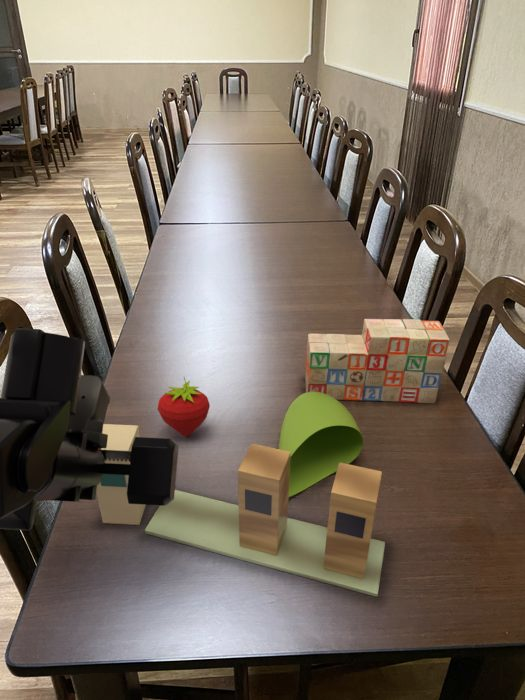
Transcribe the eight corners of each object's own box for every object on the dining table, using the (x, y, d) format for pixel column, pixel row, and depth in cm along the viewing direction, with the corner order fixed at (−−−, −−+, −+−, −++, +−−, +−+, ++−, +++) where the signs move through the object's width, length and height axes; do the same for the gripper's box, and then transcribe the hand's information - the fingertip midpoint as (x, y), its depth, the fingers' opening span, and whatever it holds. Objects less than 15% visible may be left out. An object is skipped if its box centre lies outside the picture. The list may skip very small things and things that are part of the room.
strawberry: (163, 422, 83) (157, 368, 78) (212, 422, 84) (209, 368, 78) (158, 448, 78) (151, 392, 73) (210, 447, 78) (207, 391, 73)
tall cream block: (139, 525, 66) (127, 452, 60) (102, 523, 66) (87, 450, 60) (148, 497, 70) (138, 425, 64) (113, 495, 70) (100, 423, 64)
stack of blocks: (306, 400, 89) (310, 335, 82) (304, 378, 94) (308, 316, 88) (436, 403, 88) (450, 338, 82) (427, 381, 94) (440, 319, 87)
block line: (377, 597, 58) (392, 516, 52) (144, 533, 65) (132, 455, 59) (384, 545, 64) (399, 466, 57) (170, 491, 71) (162, 416, 65)
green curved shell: (372, 448, 65) (341, 368, 83) (272, 466, 65) (263, 383, 83) (378, 497, 68) (347, 410, 86) (283, 514, 69) (272, 424, 87)
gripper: (166, 374, 46) (194, 400, 61) (-45, 365, 47) (35, 393, 62) (153, 509, 44) (186, 502, 59) (-70, 497, 44) (20, 493, 60)
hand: (106, 469), depth 60 cm, fingers open, 9 cm apart
